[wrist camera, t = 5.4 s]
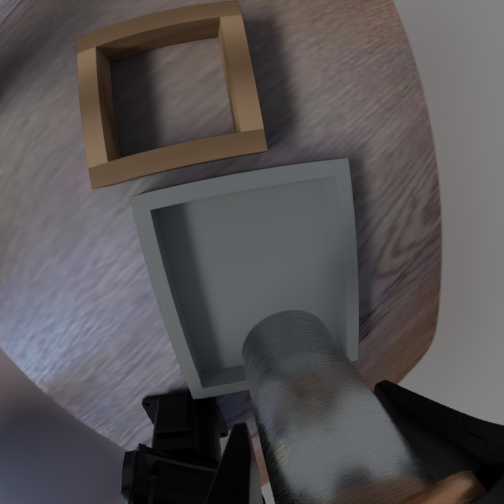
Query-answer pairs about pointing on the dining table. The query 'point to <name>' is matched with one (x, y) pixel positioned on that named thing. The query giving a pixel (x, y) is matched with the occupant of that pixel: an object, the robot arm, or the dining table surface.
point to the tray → (250, 261)
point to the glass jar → (332, 424)
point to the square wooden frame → (151, 37)
